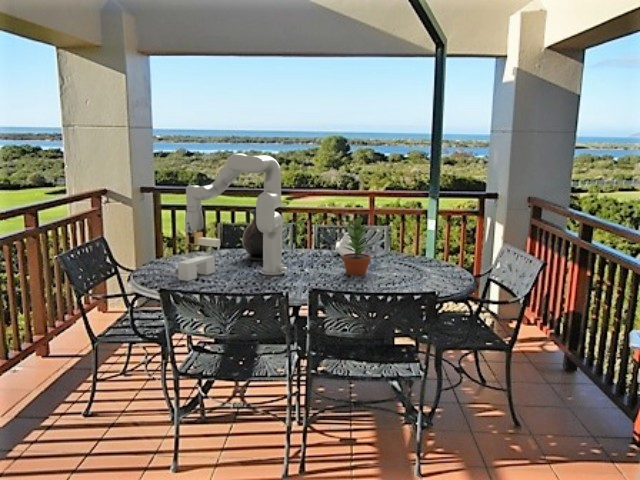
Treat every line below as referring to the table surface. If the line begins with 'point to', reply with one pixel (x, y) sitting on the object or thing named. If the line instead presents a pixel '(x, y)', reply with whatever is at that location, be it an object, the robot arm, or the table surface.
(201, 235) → the plug
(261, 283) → the table surface
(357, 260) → the potted plant
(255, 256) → the amphora vase
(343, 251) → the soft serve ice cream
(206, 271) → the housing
